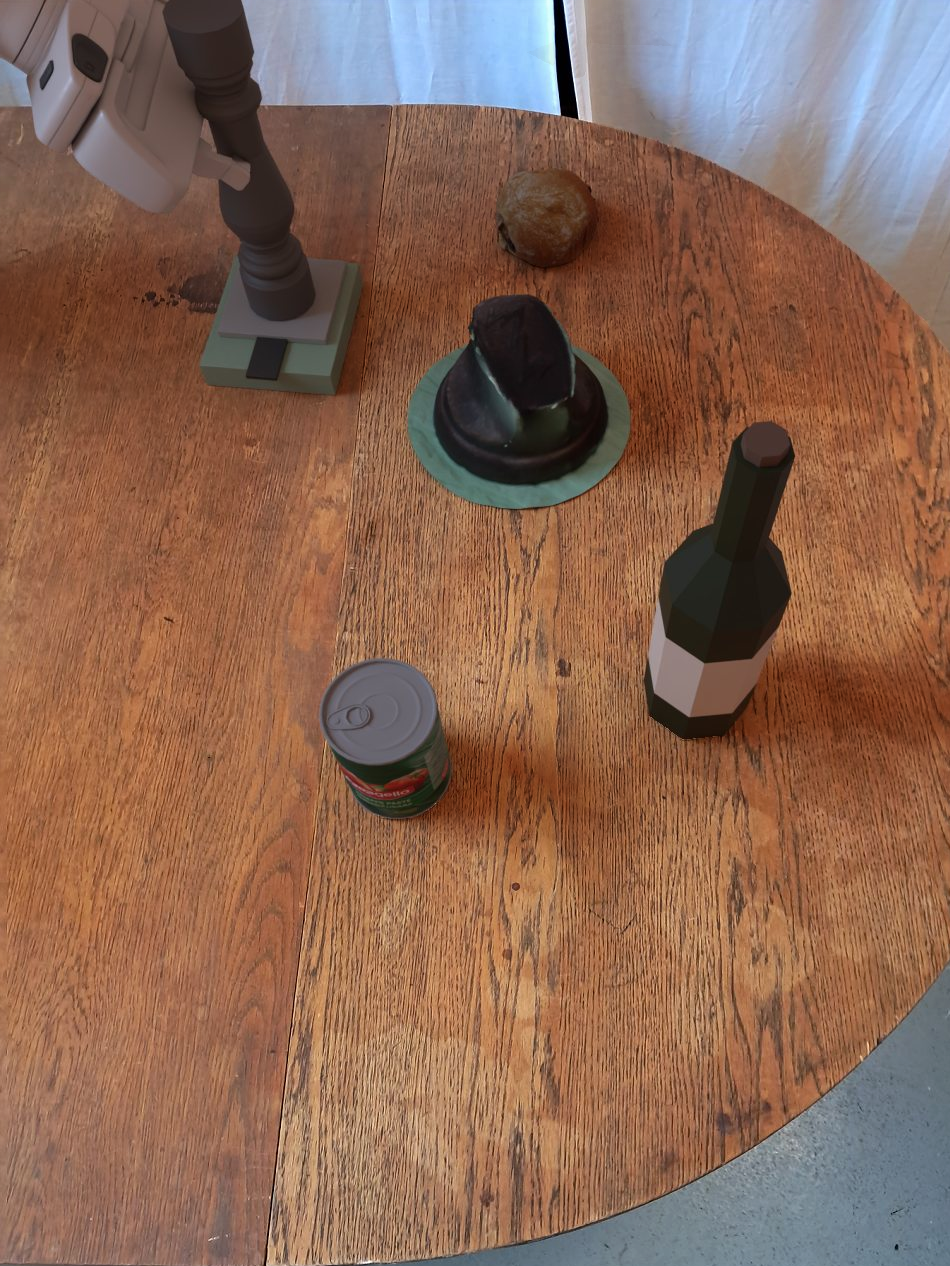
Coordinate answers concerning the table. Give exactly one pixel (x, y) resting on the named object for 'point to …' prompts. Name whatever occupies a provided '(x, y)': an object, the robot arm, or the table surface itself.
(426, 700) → the canned tomato
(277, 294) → the candle holder
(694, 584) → the wine bottle
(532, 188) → the bread roll
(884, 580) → the table surface
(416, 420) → the black hat
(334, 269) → the scale
